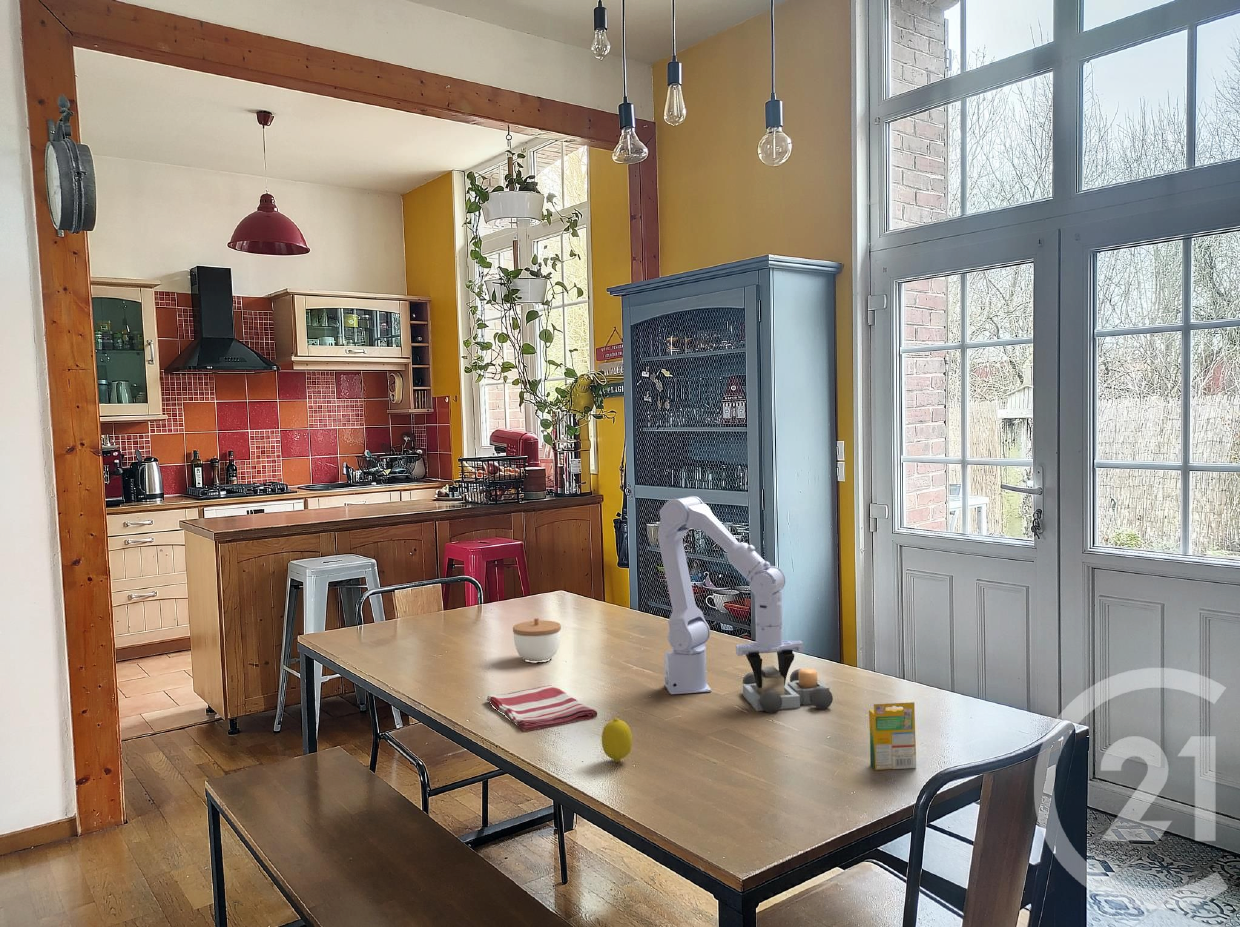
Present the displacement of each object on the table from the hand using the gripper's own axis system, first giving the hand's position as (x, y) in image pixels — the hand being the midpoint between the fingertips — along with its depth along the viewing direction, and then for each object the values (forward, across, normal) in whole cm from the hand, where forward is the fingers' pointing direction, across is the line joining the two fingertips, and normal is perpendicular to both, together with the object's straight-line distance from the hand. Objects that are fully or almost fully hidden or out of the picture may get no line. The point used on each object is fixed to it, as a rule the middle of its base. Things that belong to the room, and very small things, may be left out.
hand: (770, 685), depth 189 cm
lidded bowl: (+4, -49, +47) cm, 68 cm away
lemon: (+4, -37, -27) cm, 46 cm away
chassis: (+3, +3, 0) cm, 5 cm away
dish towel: (+4, -50, +6) cm, 51 cm away
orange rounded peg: (+1, +8, 0) cm, 9 cm away
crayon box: (+4, +10, -39) cm, 40 cm away
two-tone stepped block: (+2, 0, 0) cm, 2 cm away
